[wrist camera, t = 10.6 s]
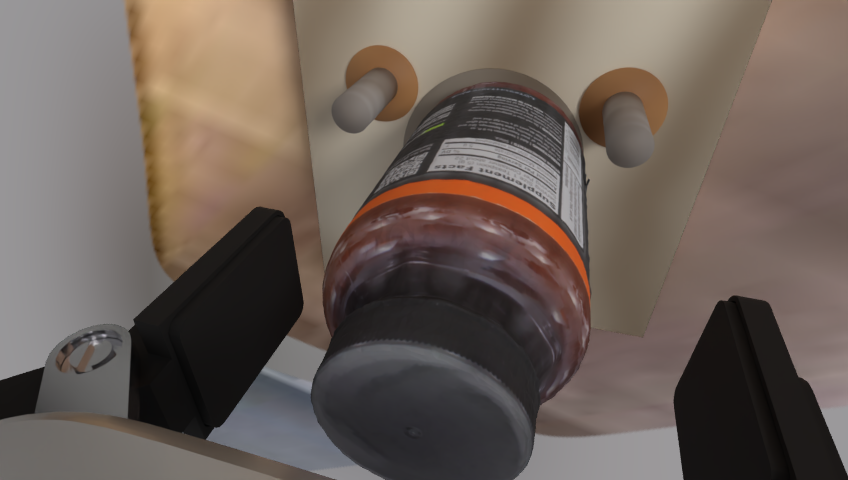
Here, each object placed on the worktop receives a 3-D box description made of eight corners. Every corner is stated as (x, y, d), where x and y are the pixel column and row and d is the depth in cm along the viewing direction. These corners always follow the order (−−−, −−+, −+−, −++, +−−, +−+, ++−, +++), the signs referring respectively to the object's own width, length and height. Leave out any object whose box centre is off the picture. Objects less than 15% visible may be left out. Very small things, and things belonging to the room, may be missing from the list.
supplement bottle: (523, 257, 20) (474, 563, 11) (391, 181, 19) (223, 432, 10) (625, 135, 16) (684, 440, 7) (465, 38, 16) (310, 230, 7)
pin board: (779, -63, 13) (846, -50, 10) (639, 317, 21) (651, 395, 18) (301, -82, 16) (227, -76, 13) (335, 263, 24) (296, 321, 21)
